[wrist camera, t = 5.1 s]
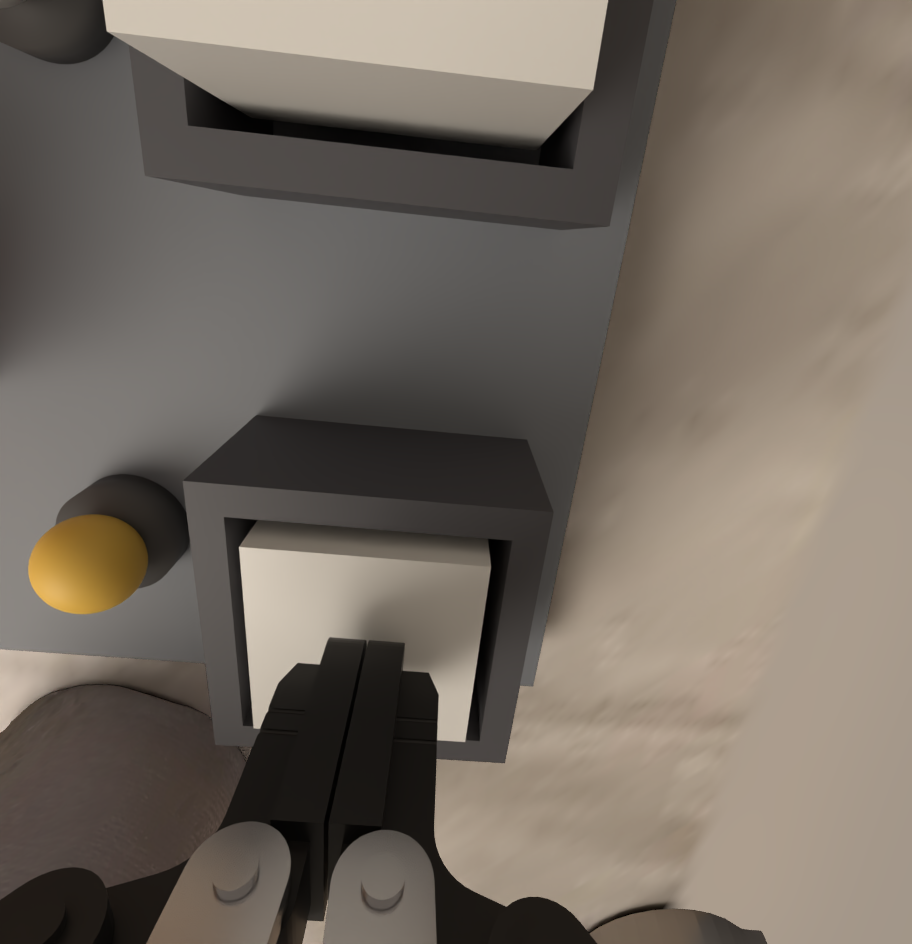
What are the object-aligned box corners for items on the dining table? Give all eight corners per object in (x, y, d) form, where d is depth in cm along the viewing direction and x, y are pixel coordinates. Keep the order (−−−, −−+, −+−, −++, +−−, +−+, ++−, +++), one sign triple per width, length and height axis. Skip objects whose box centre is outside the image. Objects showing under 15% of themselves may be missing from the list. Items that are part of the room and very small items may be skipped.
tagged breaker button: (480, 480, 14) (491, 566, 10) (462, 625, 16) (465, 742, 12) (296, 464, 14) (238, 547, 10) (300, 613, 16) (253, 728, 12)
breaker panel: (695, -239, 10) (976, -793, 5) (525, 643, 19) (554, 806, 14) (-524, -421, 9) (-1943, -1382, 4) (-108, 597, 18) (-351, 752, 13)
